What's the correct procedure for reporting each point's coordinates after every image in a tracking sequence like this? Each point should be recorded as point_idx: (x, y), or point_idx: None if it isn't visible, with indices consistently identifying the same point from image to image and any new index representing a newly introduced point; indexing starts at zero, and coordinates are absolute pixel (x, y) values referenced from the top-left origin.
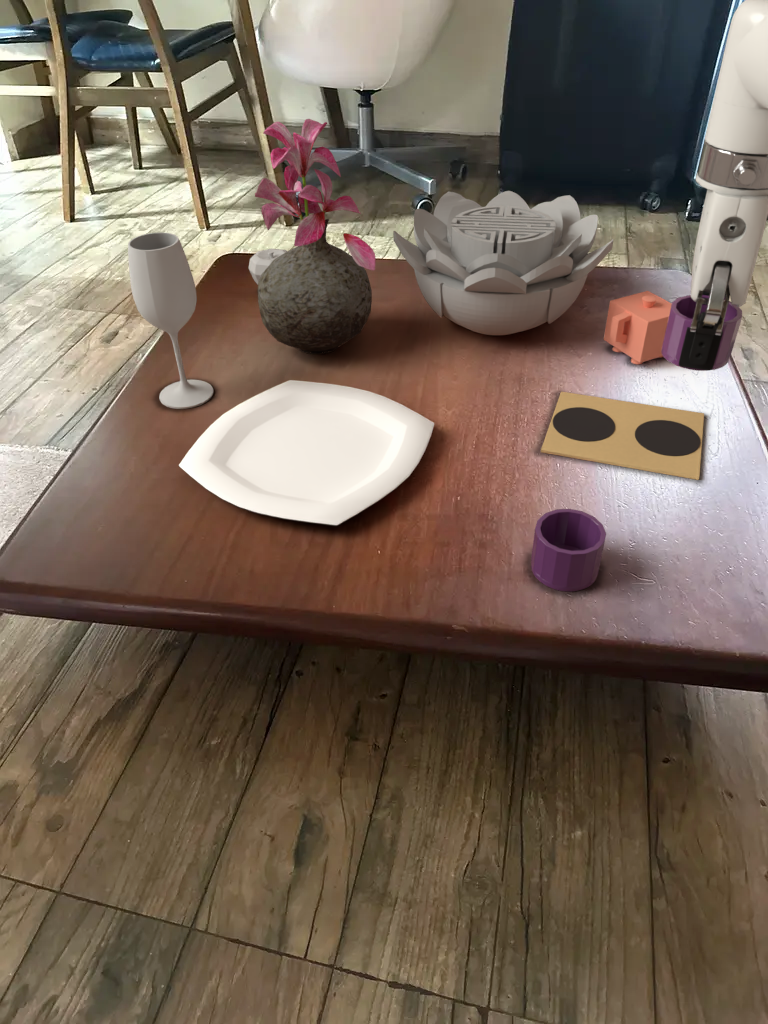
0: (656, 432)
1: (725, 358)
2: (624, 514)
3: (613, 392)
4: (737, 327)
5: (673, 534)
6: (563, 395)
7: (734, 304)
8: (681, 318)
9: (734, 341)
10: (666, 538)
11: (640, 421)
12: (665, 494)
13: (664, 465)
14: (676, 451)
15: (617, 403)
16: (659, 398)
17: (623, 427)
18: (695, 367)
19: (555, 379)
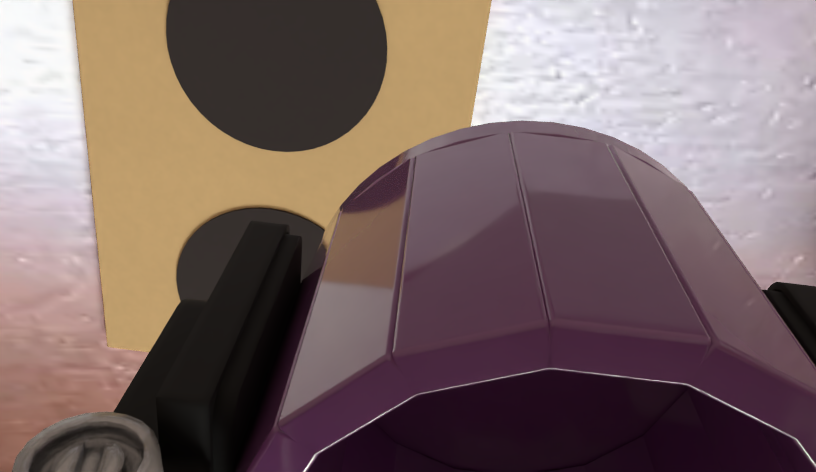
0: (256, 82)
1: (699, 203)
2: (695, 186)
3: (36, 199)
4: (729, 301)
5: (793, 54)
6: (128, 341)
7: (398, 378)
8: None
9: (649, 204)
10: (812, 76)
11: (199, 130)
12: (589, 65)
13: (446, 66)
14: (359, 22)
15: (114, 196)
16: (8, 52)
17: (252, 182)
18: None
19: (33, 354)
